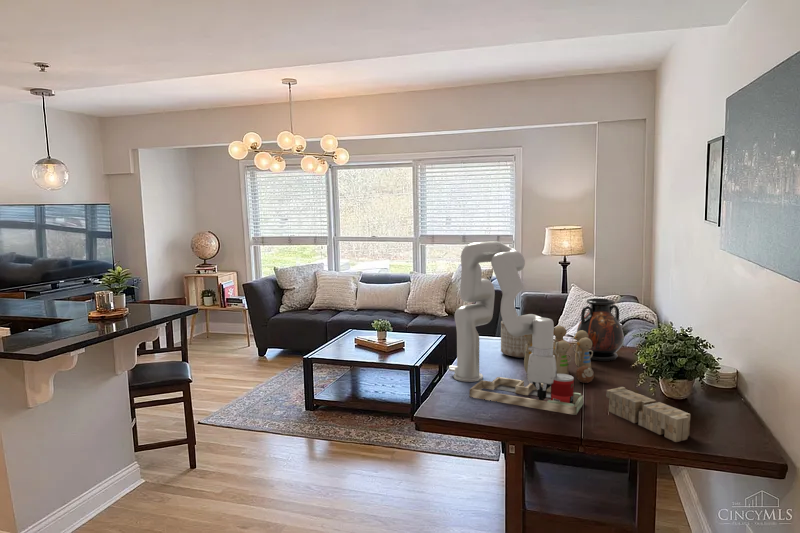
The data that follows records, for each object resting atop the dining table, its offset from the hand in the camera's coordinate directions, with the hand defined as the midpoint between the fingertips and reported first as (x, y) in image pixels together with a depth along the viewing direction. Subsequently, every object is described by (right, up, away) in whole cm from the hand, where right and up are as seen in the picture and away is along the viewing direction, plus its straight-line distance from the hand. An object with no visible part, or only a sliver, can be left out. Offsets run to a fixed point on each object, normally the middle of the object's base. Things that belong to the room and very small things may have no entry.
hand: (541, 399), depth 199 cm
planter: (+7, +5, +66) cm, 67 cm away
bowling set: (+17, +2, +38) cm, 42 cm away
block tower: (+30, -4, -20) cm, 36 cm away
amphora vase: (+44, +5, +60) cm, 75 cm away
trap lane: (-4, -1, +6) cm, 7 cm away
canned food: (+7, -2, -3) cm, 7 cm away
